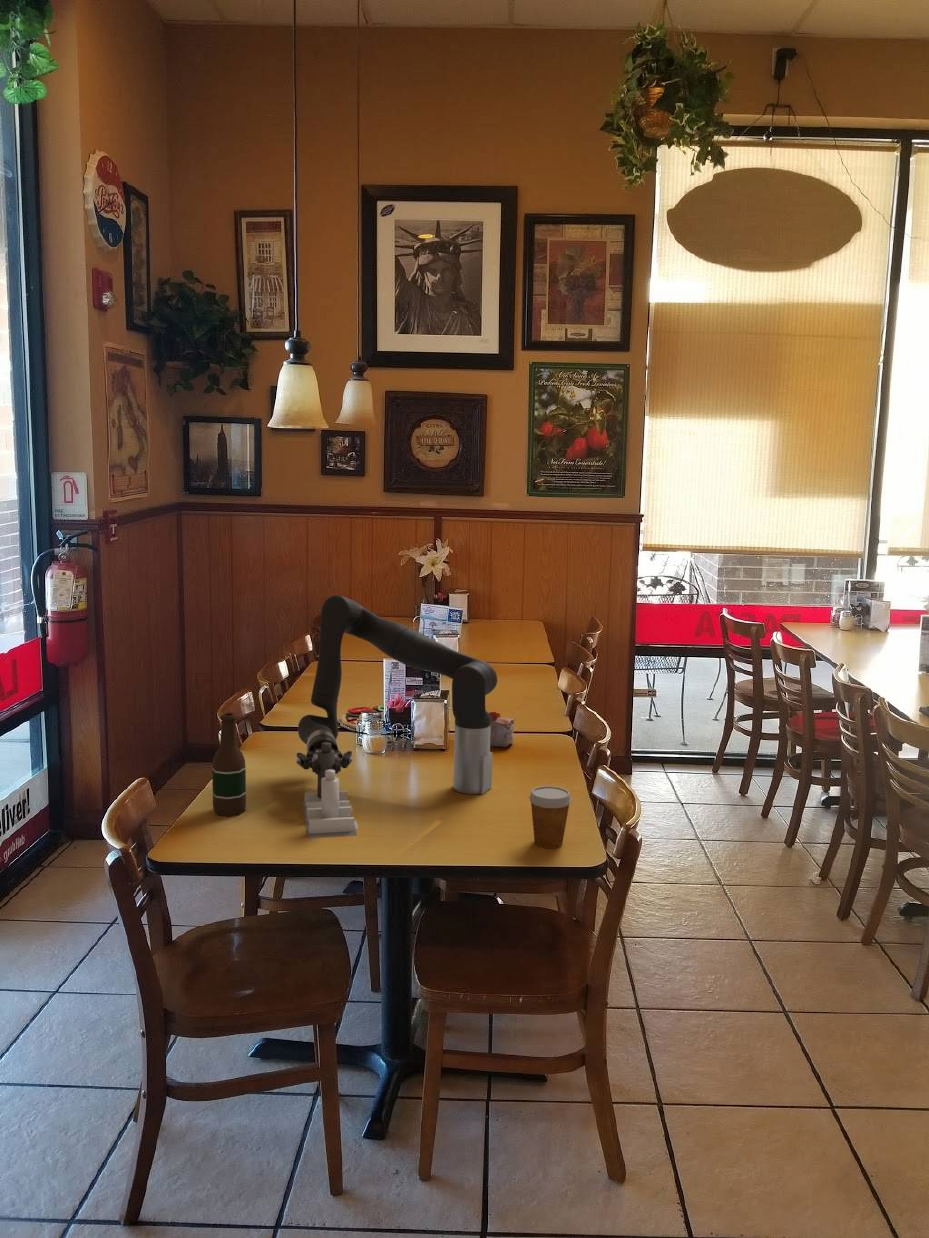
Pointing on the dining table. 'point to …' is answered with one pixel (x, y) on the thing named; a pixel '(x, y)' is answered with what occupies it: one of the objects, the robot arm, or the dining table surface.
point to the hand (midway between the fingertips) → (327, 769)
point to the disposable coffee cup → (549, 815)
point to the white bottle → (330, 795)
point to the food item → (501, 730)
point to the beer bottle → (229, 772)
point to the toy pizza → (356, 716)
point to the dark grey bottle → (325, 763)
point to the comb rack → (328, 825)
